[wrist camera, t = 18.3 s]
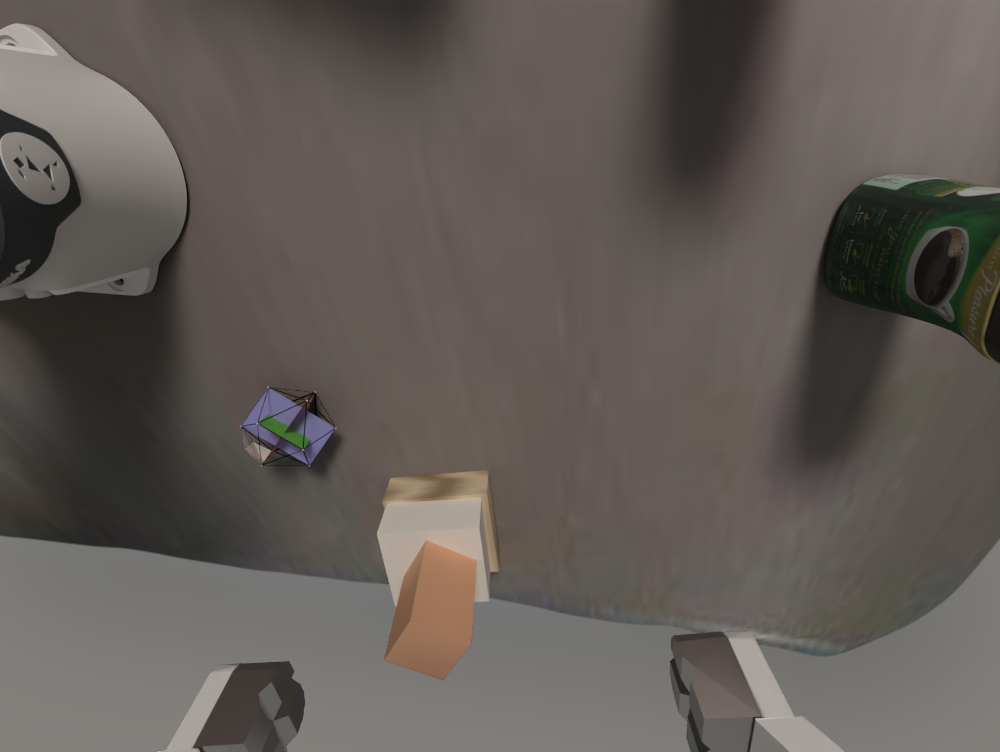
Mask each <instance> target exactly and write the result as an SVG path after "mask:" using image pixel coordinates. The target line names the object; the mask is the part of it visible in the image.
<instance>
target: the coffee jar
mask: <svg viewBox="0 0 1000 752" xmlns="http://www.w3.org/2000/svg"><path fill="white" fill-rule="evenodd" d="M825 280H826V284H827V286H828V288H829V290H830V291H831V292H832V293H833V294H834V295H836V296H838V297H840V298H842V299H845V300H847V301H850V302H853V303H857V304H860V305H864V306H868V307H872V308H876V309H880V310H884V311H888V312H892V313H897V314H900V315H904V316H908V317H911V318H915V319H919V320H922V321H925V322H929V323H932V324H935V325H938V326H940V327H943V328H945V329H948V330H950V331H953V332H955V333H957V334H959V335H960V336H962V337H963V338H965V339H966V340H967V341H968V342H969V343H970V344H971V345H972V346H973V347H974V348H975V349H976V350H977V351H978V352H979V353H980V354H982V355H983V356H984V357H986V358H988V359H989V360H991V361H993V362H995V363H997V364H1000V189H999V188H994V187H988V186H983V185H978V184H973V183H968V182H963V181H958V180H953V179H948V178H942V177H936V176H927V175H913V174H896V175H887V176H881V177H877V178H873V179H870V180H868V181H866V182H864V183H862V184H861V185H859V186H858V187H857V188H855V189H854V190H853V191H852V192H851V193H850V194H849V195H848V197H847V198H846V200H845V201H844V203H843V205H842V207H841V209H840V212H839V214H838V217H837V220H836V223H835V226H834V229H833V232H832V235H831V240H830V244H829V248H828V253H827V259H826V266H825Z"/></svg>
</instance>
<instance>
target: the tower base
mask: <svg viewBox="0 0 1000 752" xmlns="http://www.w3.org/2000/svg"><path fill="white" fill-rule="evenodd" d="M469 498H481V499H482V506H483V514H484V522H485V530H486V537H487V545H488V553H489V560H490V572H499V540H498V533H497V526H496V519H495V512H494V505H493V498H492V492H491V485H490V478H489V471H488V470H485V471H473V472H461V473H449V474H436V475H424V476H412V477H400V478H391V479H390V481H389V484H388V487H387V490H386V493H385V496H384V498H383V501H382V503H383V507H384V510H385V508H386V505H387V504H390V503H406V502H421V501H437V500H453V499H469Z"/></svg>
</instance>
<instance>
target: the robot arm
mask: <svg viewBox="0 0 1000 752" xmlns="http://www.w3.org/2000/svg"><path fill="white" fill-rule="evenodd" d="M186 210H187V192H186V184H185V179H184V175H183V171H182V168H181V165H180V162H179V159H178V157H177V154H176V152H175V150H174V148H173V146H172V144H171V142H170V140H169V138H168V137H167V135H166V133H165V132H164V130H163V129H162V127H161V126H160V124H159V123H158V122H157V121H156V119H155V118H154V117H153V116H152V114H151V113H150V112H149V111H148V110H147V109H146V108H145V107H144V106H143V105H142V104H141V103H140V102H139V101H138V100H137V99H136V98H135V97H134V96H133V95H132V94H130V93H129V92H128V91H127V90H125V89H124V88H123V87H121V86H120V85H118V84H117V83H115V82H114V81H112V80H110V79H109V78H107V77H105V76H103V75H101V74H99V73H97V72H95V71H93V70H91V69H89V68H87V67H85V66H84V65H82V64H80V63H79V62H77V61H76V60H74V59H73V58H72V57H71V56H70V55H69V54H68V53H67V52H66V51H65V50H64V49H63V48H62V47H61V46H60V45H59V44H58V43H57V42H56V41H55V40H53V39H52V38H51V37H50V36H49V35H48V34H47V33H45V32H44V31H43V30H41V29H40V28H38V27H36V26H33V25H27V24H19V23H16V24H12V25H9V26H7V27H5V28H3V29H1V30H0V301H1V300H10V299H16V298H20V297H23V296H25V295H26V296H27V297H28V298H32V299H35V298H44V297H49V296H51V295H52V294H54V295H62V294H67V293H71V292H75V291H78V292H91V293H105V294H118V295H131V296H138V295H142V294H147V293H149V292H151V291H152V290H153V288H154V286H155V283H156V279H157V274H158V268H159V263H160V262H161V260H162V258H163V257H164V256H165V254H166V253H167V252H168V251H169V250H170V249H171V248H172V246H173V245H174V244H175V242H176V241H177V239H178V237H179V235H180V233H181V231H182V228H183V225H184V222H185V217H186ZM120 279H123V281H124V283H123V282H122V281H121V280H120ZM671 649H672V652H673V656H674V658H673V659H672V660H671V661H670V675H671V683H672V689H673V693H674V697H675V701H676V705H677V708H678V711H679V713H680V714H681V716H682V717H684V719H686V721H687V737H686V738H687V741H688V744H689V748H690V751H691V752H845V751H843V750H842V749H841V748H840V747H839V746H837V745H836V744H835V743H834V742H832V741H831V740H830V739H829V738H828V737H827V736H826V735H824V734H823V733H822V732H821V731H820V730H819V729H817V728H816V727H815V726H814V725H813V724H811V723H810V722H809V721H808V720H807V719H806V718H804V717H803V716H794V715H793V713H792V711H791V709H790V707H789V705H788V703H787V701H786V699H785V697H784V695H783V693H782V691H781V689H780V687H779V685H778V683H777V681H776V679H775V677H774V675H773V673H772V671H771V669H770V667H769V665H768V664H767V662H766V660H765V658H764V656H763V654H762V652H761V650H760V648H759V646H758V644H757V642H756V640H755V638H754V636H753V635H752V634H751V633H750V632H749V631H746V630H744V631H732V632H709V633H697V634H687V635H674V636H673V637H672V639H671ZM293 673H294V670H293V668H292V666H291V664H290V662H289V661H285V662H266V663H246V664H243V663H240V664H227V665H226V664H225V665H218V666H217V667H216V668H215V669H213V670H212V672H211V673H210V674H209V675H208V677H207V679H206V681H205V682H204V684H203V686H202V688H201V689H200V691H199V693H198V695H197V696H196V698H195V700H194V701H193V703H192V705H191V707H190V708H189V710H188V712H187V714H186V715H185V717H184V719H183V721H182V722H181V724H180V726H179V728H178V729H177V731H176V733H175V735H174V736H173V738H172V740H171V741H170V743H169V745H168V747H167V749H166V750H159V751H157V752H287V748H286V746H287V745H288V744H289V742H290V741H291V740H292V739H293V738H294V737H295V736H296V735H297V734H298V731H299V728H300V725H301V722H302V720H303V714H304V707H305V698H304V691H303V689H302V686H301V685H300V684H299V683H298V682H296V681H295V680H293V679H292V675H293Z"/></svg>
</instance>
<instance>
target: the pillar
mask: <svg viewBox="0 0 1000 752" xmlns="http://www.w3.org/2000/svg"><path fill="white" fill-rule="evenodd" d="M476 565H477V560H474V559H472V558H469V557H467V556H464V555H462V554H459V553H457V552H454V551H452V550H449V549H447V548H444V547H442V546H439V545H437V544H434V543H432V542H429V541H427V540H426V541H425V543H424V544H423V546H422V548H421V549H420V551H419V552H418V554H417V556H416V557H415V559H414V561H413V562H412V564H411V565H410V567H409V569H408V570H407V572H406V573H405V575H404V577H403V581H402V585H401V590H400V594H399V598H398V602H397V607H396V611H395V616H394V620H393V624H392V628H391V633H390V637H389V641H388V646H387V650H386V654H385V659H384V660H385V661H388V662H390V663H394V664H397V665H400V666H402V667H406V668H409V669H411V670H414V671H418V672H420V673H423V674H426V675H429V676H432V677H435V678H438V679H441V680H444V678H445V677H446V676H447V674H448V673H449V672H450V670H451V669H452V668H453V667H454V665H455V664H456V663H457V661H458V660H459V659H460V657H461V656H462V655H463V653H464V652H465V651H466V649H467V648H468V647H469V646H470V644H471V643H472V629H473V613H474V612H473V611H474V597H475V581H476Z"/></svg>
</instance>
